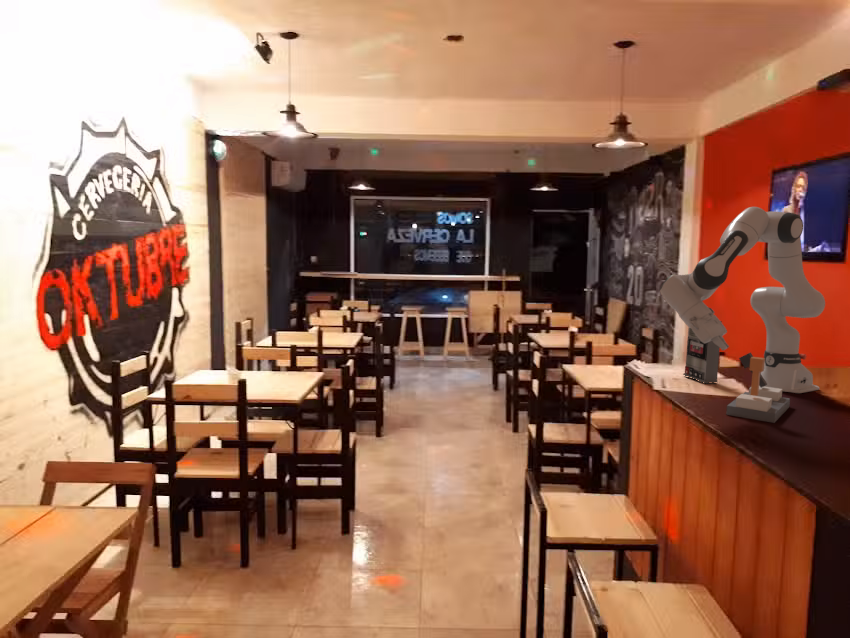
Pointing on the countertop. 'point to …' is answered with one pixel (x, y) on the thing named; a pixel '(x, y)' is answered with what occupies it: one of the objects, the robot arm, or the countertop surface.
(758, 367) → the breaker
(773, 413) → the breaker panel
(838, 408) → the countertop surface
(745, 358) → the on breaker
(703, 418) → the countertop surface
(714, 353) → the cassette tape recorder
